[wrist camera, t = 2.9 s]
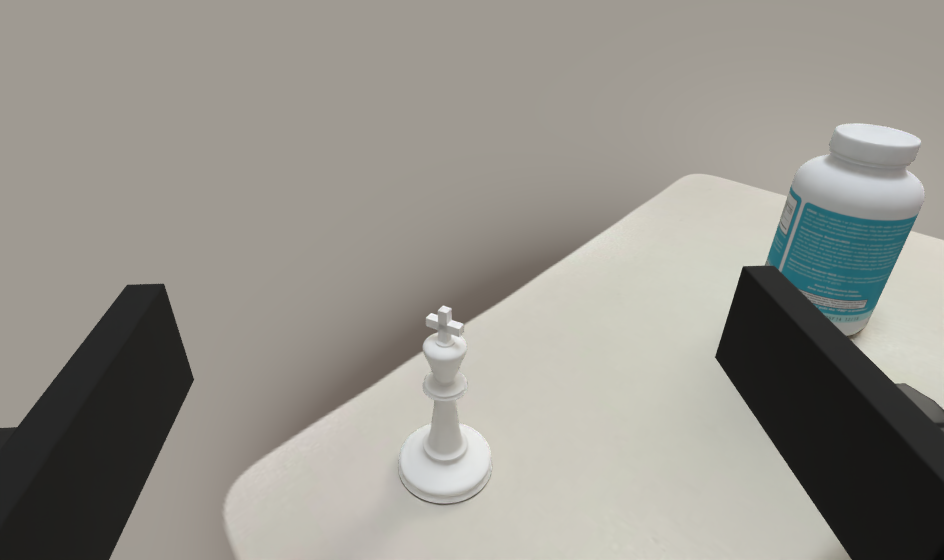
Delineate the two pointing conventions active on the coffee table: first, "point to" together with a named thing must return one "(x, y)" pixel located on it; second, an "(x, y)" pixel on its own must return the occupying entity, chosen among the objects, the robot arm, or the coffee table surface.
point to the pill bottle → (849, 221)
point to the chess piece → (445, 426)
